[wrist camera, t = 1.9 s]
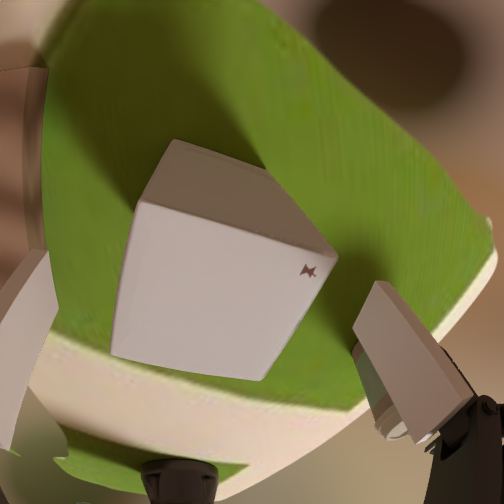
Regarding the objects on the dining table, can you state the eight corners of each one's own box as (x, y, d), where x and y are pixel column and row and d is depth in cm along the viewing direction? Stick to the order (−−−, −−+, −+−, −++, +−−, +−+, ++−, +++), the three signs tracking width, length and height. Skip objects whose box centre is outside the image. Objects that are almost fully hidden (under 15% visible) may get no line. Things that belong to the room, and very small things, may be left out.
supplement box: (172, 135, 19) (137, 189, 8) (270, 170, 21) (349, 257, 10) (142, 229, 22) (104, 357, 11) (232, 255, 24) (264, 386, 13)
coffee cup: (336, 374, 35) (371, 452, 25) (347, 327, 31) (396, 416, 21) (392, 358, 36) (432, 425, 26) (409, 311, 32) (464, 383, 22)
